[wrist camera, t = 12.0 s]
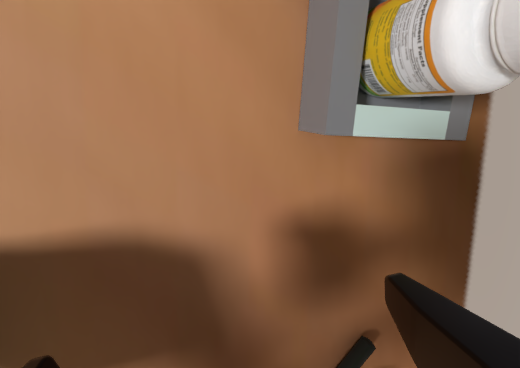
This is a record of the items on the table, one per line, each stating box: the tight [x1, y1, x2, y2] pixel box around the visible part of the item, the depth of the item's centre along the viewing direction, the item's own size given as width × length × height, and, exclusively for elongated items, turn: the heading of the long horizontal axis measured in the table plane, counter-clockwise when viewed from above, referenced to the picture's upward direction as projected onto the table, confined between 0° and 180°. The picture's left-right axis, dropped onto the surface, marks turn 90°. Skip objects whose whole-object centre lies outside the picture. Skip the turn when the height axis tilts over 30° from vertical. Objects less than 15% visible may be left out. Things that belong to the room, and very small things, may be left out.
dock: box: [298, 0, 475, 140], centre depth 19 cm, size 10×10×4 cm
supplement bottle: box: [359, 0, 520, 98], centre depth 15 cm, size 5×5×10 cm
